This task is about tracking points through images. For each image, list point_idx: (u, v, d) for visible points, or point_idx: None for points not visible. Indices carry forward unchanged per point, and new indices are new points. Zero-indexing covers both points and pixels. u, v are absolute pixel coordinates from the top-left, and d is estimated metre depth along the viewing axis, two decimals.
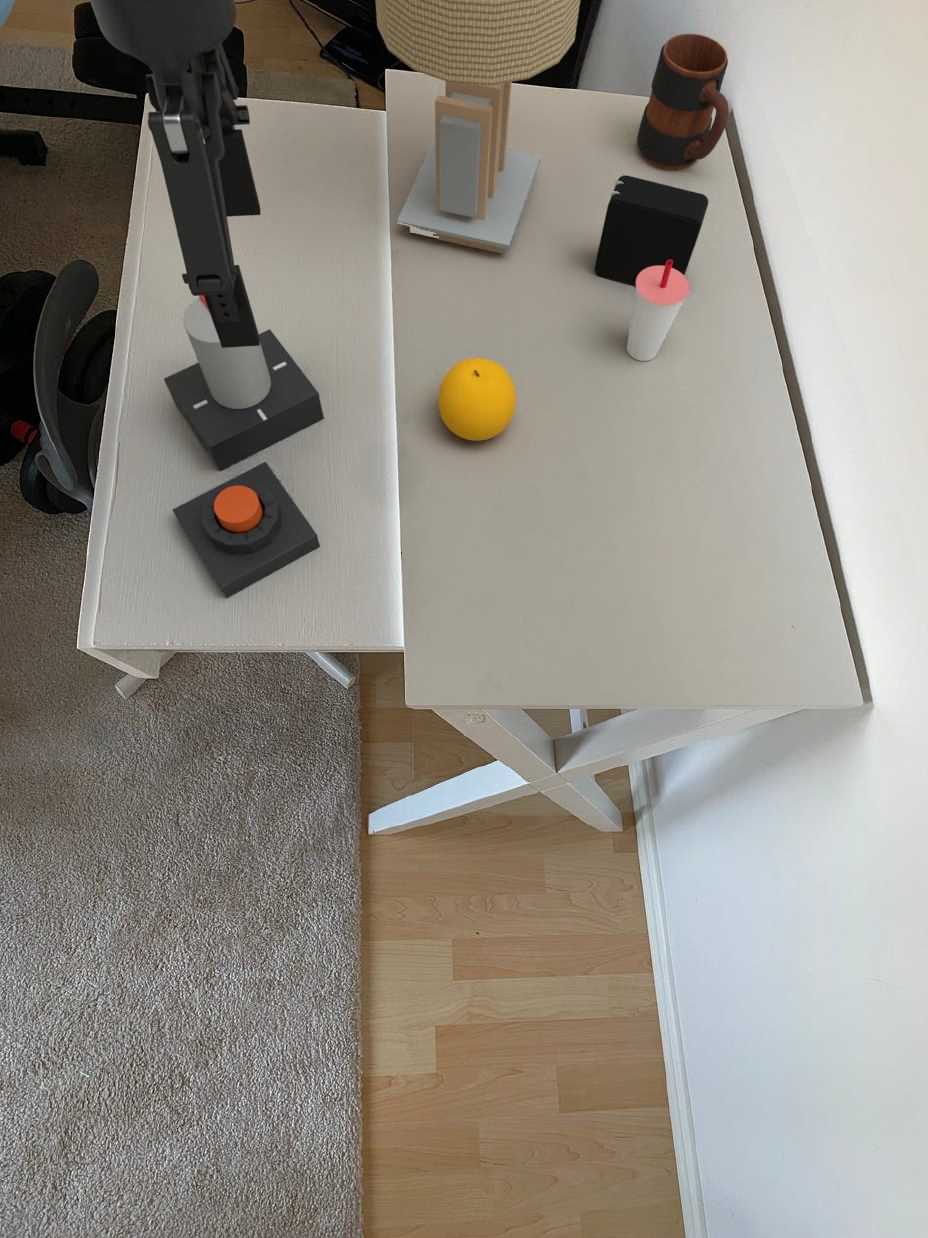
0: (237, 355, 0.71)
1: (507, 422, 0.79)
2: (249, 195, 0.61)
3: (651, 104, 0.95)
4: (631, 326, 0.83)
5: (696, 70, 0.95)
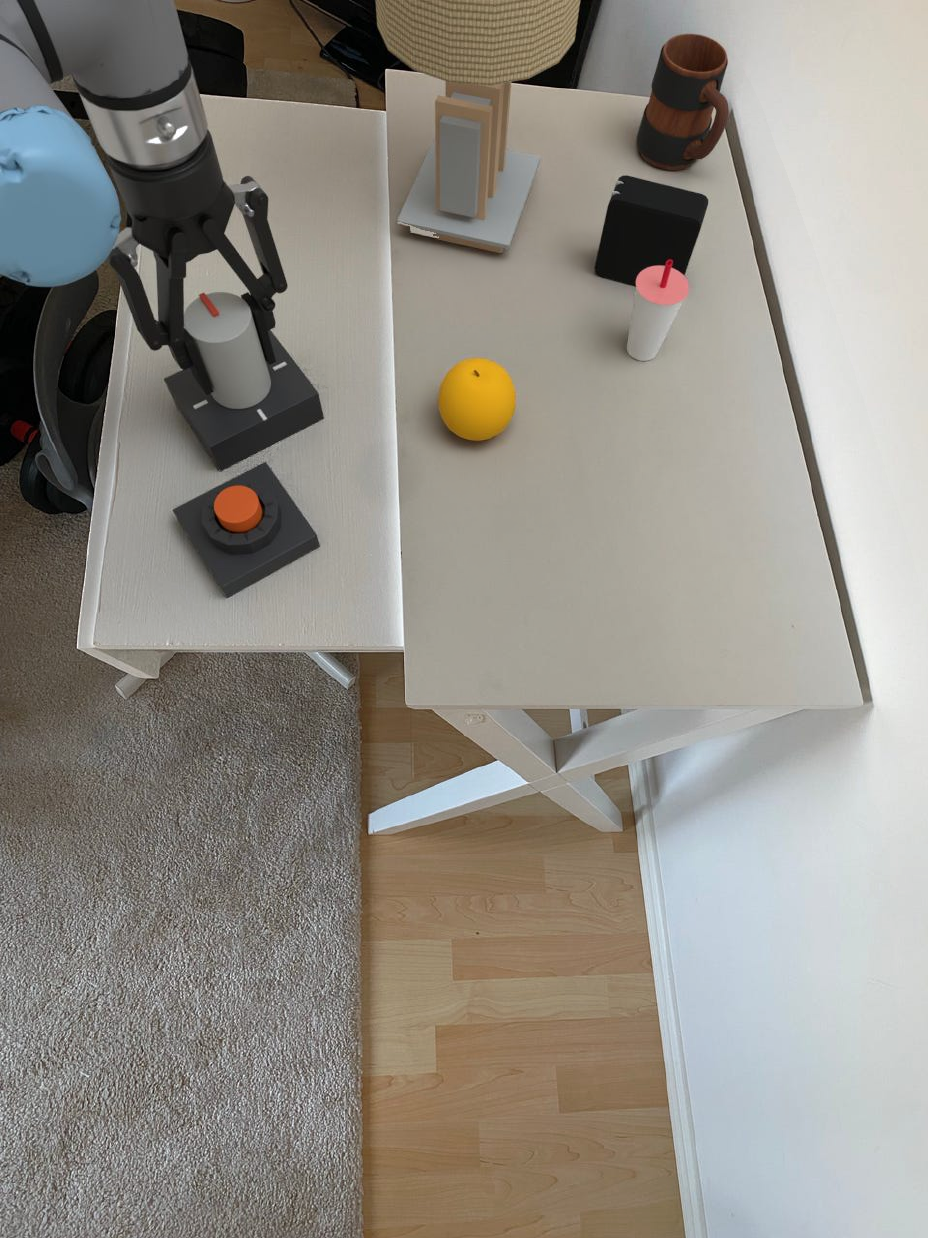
0: (237, 355, 0.71)
1: (507, 422, 0.79)
2: (263, 348, 0.75)
3: (651, 104, 0.95)
4: (631, 326, 0.83)
5: (696, 70, 0.95)
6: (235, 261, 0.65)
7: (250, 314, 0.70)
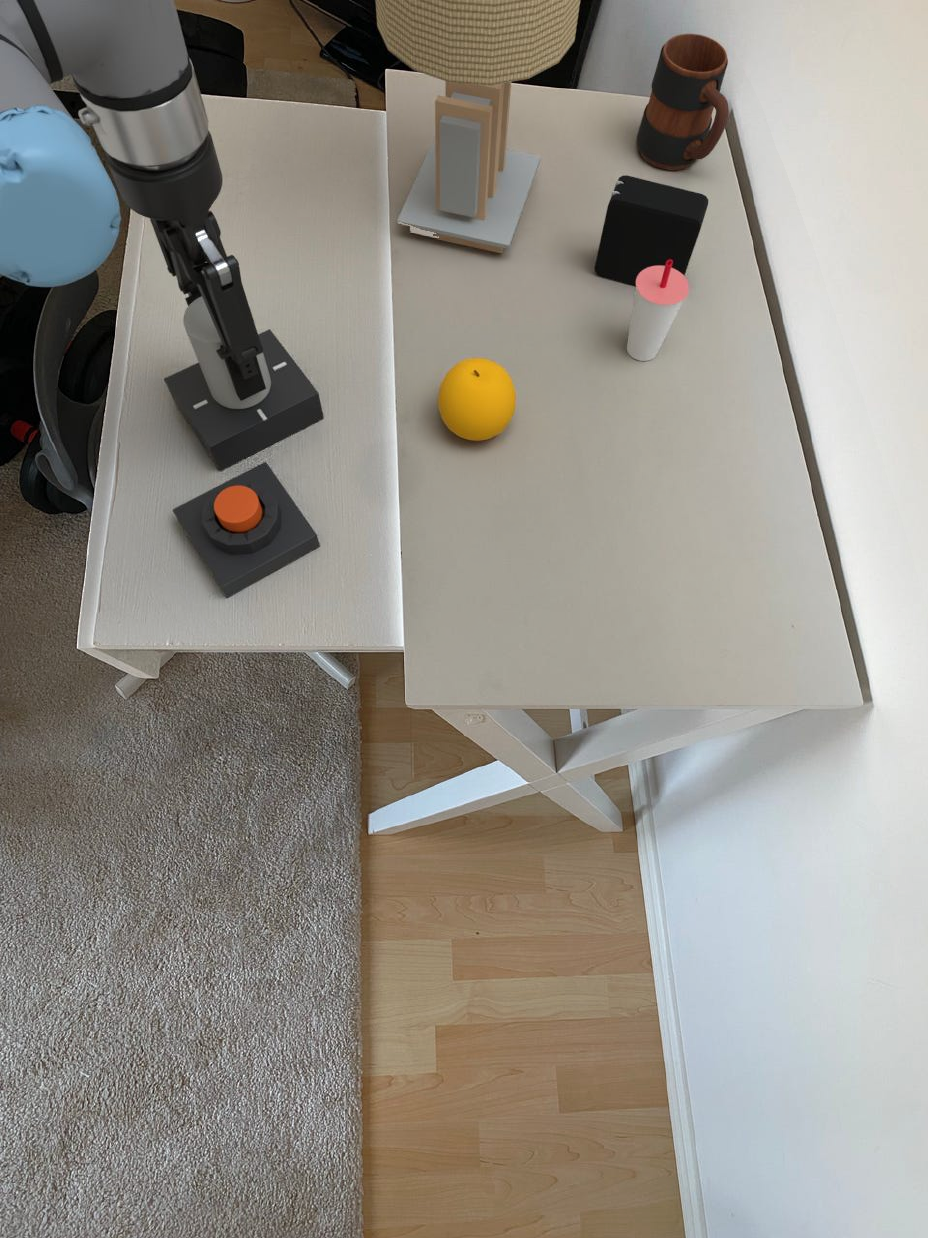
0: (192, 346, 0.71)
1: (507, 422, 0.79)
2: None
3: (651, 104, 0.95)
4: (631, 326, 0.83)
5: (696, 70, 0.95)
6: (201, 291, 0.64)
7: (217, 341, 0.69)
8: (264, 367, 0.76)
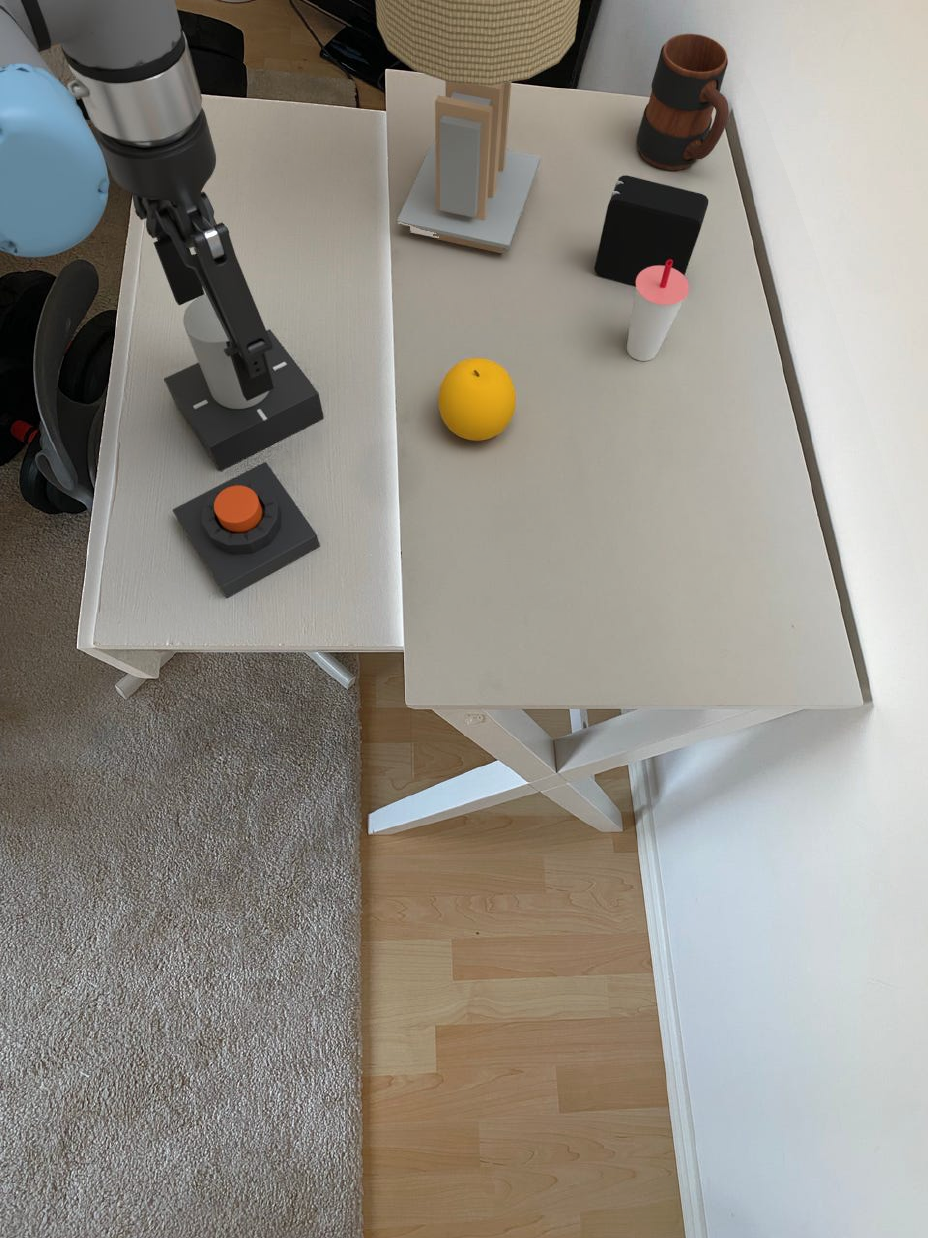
0: (192, 345, 0.71)
1: (507, 422, 0.79)
2: None
3: (651, 104, 0.95)
4: (631, 326, 0.83)
5: (696, 70, 0.95)
6: (199, 278, 0.61)
7: (216, 341, 0.69)
8: None
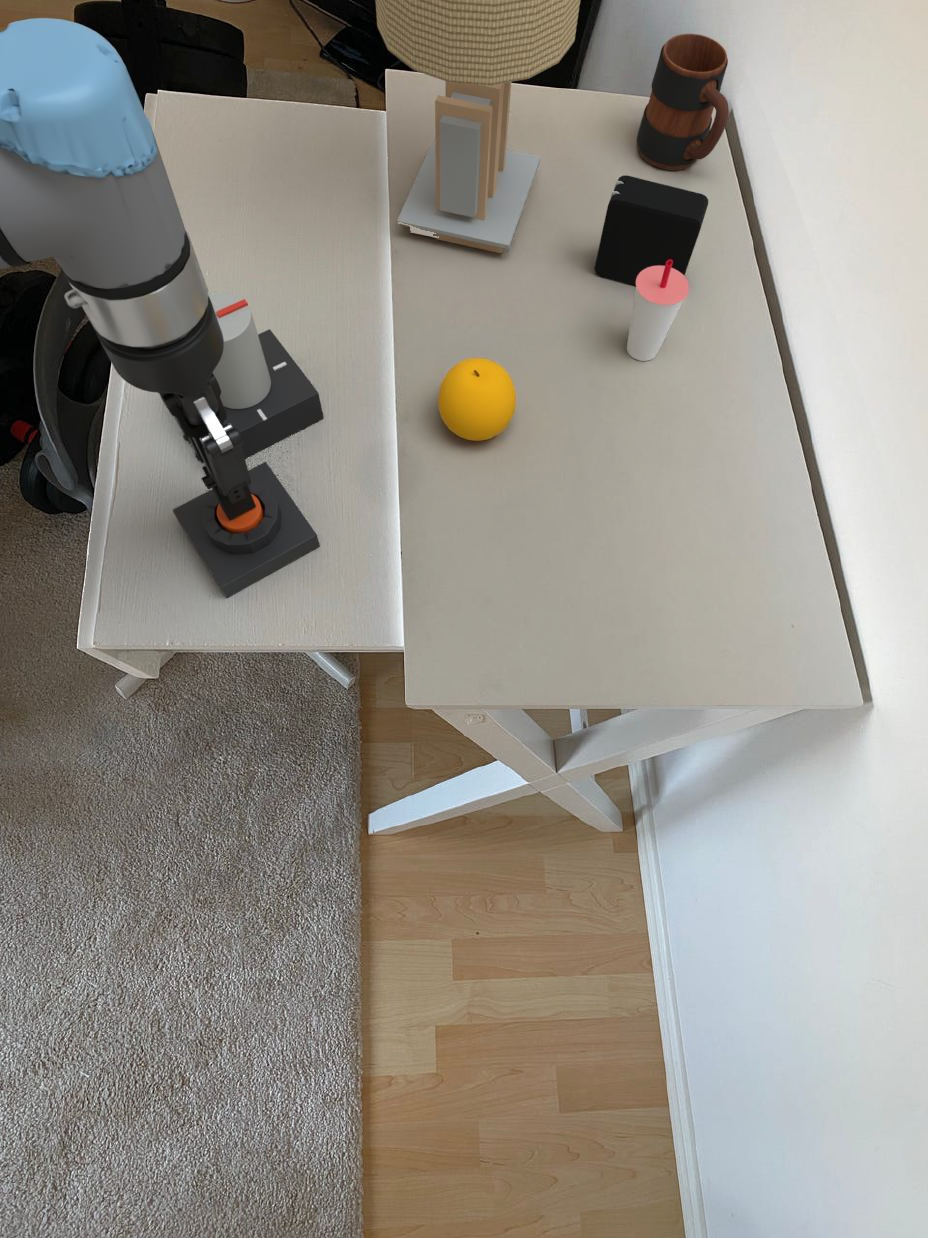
0: None
1: (507, 422, 0.79)
2: None
3: (651, 104, 0.95)
4: (631, 326, 0.83)
5: (696, 70, 0.95)
6: (193, 438, 0.60)
7: None
8: (264, 367, 0.76)
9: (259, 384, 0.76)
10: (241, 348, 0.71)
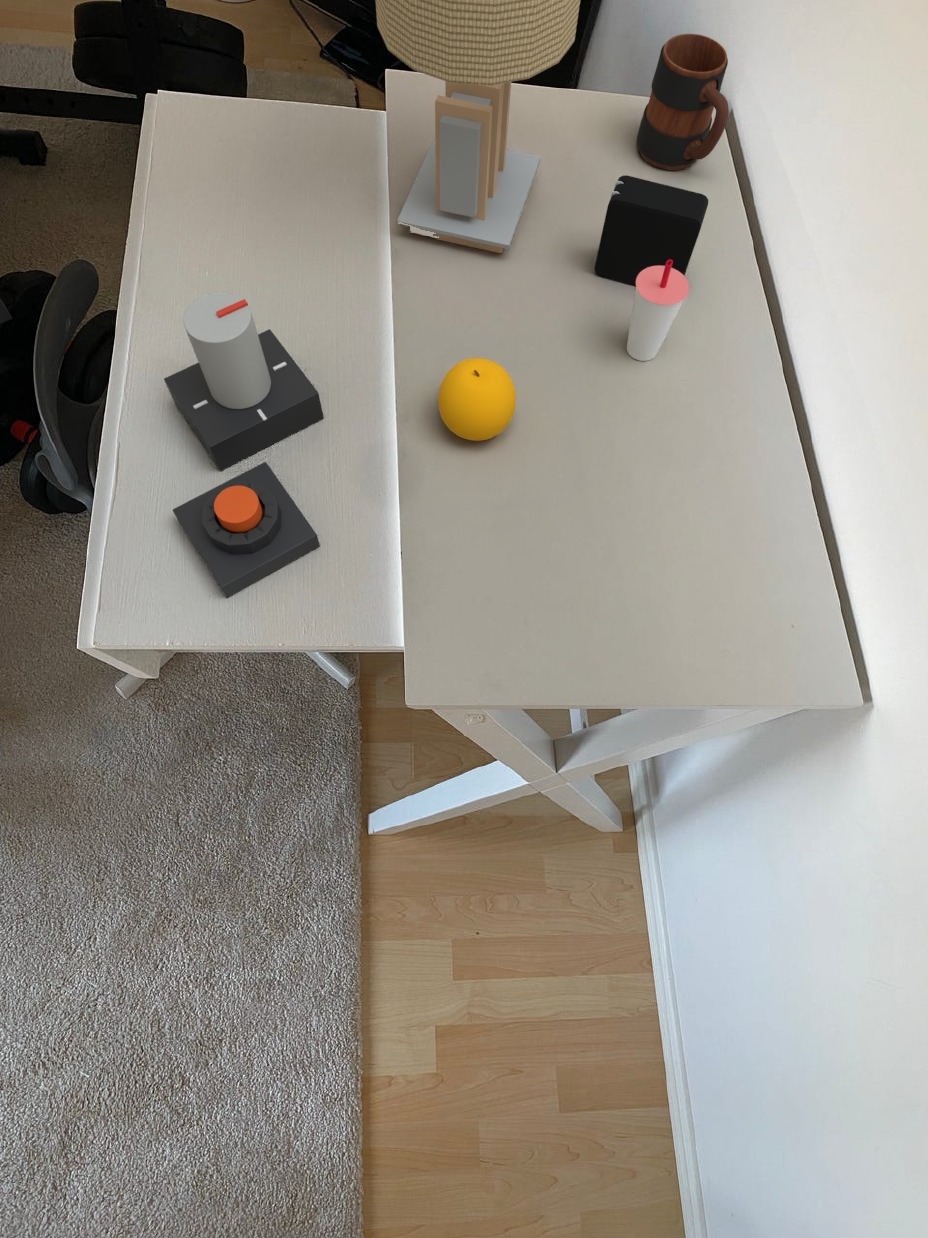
0: (192, 345, 0.71)
1: (507, 422, 0.79)
2: None
3: (651, 104, 0.95)
4: (631, 326, 0.83)
5: (696, 70, 0.95)
6: None
7: (216, 341, 0.69)
8: (264, 367, 0.76)
9: (259, 384, 0.76)
10: (241, 348, 0.71)
